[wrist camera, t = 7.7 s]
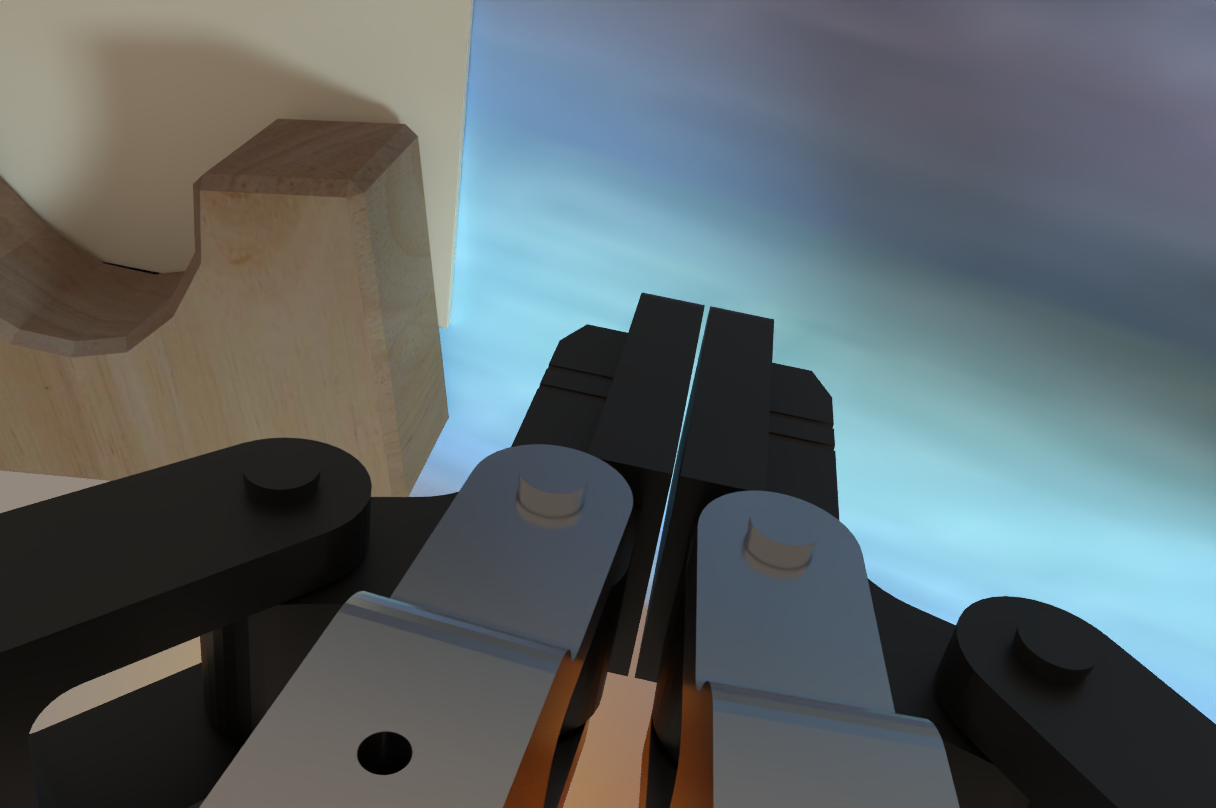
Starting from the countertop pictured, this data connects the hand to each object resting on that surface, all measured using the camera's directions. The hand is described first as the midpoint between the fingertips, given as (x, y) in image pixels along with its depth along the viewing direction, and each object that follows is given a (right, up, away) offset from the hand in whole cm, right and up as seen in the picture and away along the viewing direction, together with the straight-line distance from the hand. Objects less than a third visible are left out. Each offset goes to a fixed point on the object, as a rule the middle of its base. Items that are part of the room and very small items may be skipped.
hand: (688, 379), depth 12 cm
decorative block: (-7, +2, +21) cm, 22 cm away
